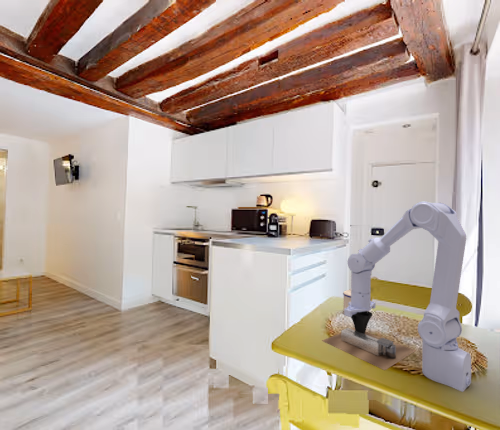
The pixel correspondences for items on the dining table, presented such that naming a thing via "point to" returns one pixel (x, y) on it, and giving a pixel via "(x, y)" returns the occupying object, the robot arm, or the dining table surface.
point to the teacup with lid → (347, 298)
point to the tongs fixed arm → (365, 342)
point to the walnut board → (369, 357)
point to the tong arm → (386, 351)
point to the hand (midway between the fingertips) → (360, 334)
